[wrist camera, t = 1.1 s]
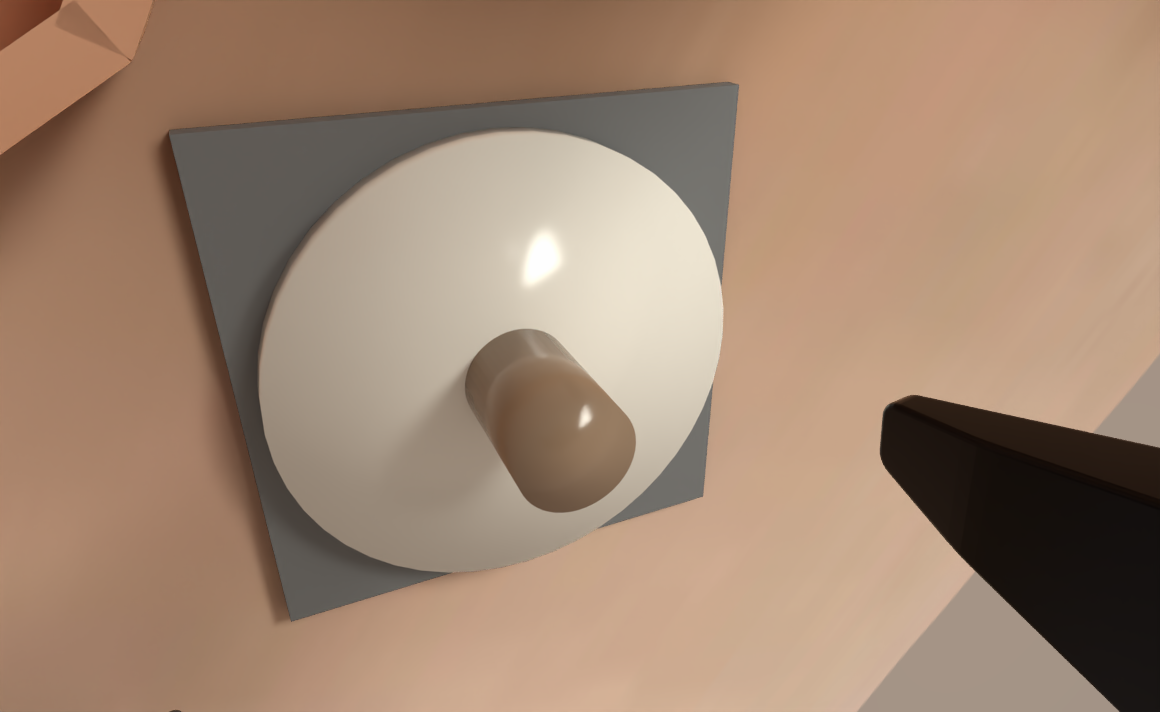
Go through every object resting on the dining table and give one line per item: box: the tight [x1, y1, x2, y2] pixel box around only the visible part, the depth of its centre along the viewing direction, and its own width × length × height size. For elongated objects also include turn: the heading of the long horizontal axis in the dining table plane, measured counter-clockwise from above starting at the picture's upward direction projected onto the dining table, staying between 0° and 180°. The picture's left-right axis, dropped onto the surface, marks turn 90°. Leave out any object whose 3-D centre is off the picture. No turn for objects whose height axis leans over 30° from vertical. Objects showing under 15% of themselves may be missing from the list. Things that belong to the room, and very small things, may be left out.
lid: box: [257, 127, 723, 573], centre depth 20 cm, size 13×13×5 cm
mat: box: [169, 82, 739, 622], centre depth 22 cm, size 14×14×1 cm
